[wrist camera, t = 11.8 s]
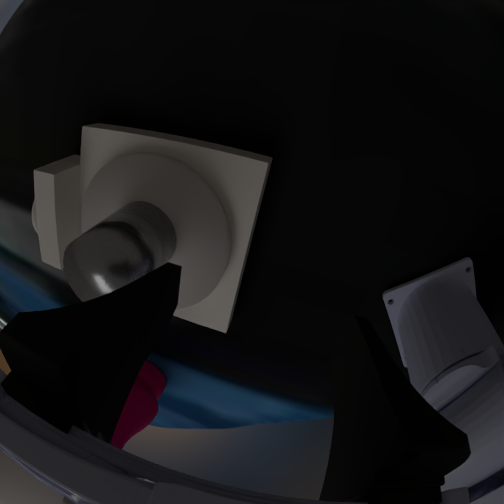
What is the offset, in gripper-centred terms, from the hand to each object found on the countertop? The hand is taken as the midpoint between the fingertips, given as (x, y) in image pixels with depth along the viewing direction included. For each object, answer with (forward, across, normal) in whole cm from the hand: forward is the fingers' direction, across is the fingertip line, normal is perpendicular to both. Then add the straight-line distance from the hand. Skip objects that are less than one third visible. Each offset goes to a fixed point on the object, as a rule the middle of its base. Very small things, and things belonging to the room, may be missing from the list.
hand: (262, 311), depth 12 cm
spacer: (+8, +9, +3) cm, 12 cm away
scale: (+11, +10, +3) cm, 15 cm away
